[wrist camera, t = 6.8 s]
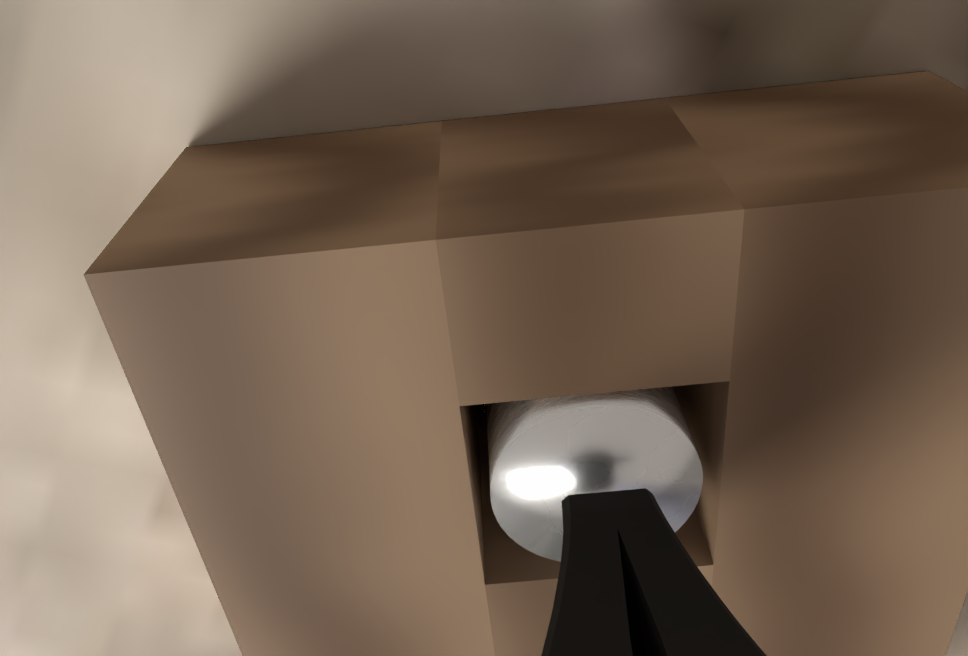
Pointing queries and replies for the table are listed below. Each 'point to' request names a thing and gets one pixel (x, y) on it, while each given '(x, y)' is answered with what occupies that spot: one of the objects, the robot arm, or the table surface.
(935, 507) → the socket block
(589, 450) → the peg
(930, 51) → the table surface
